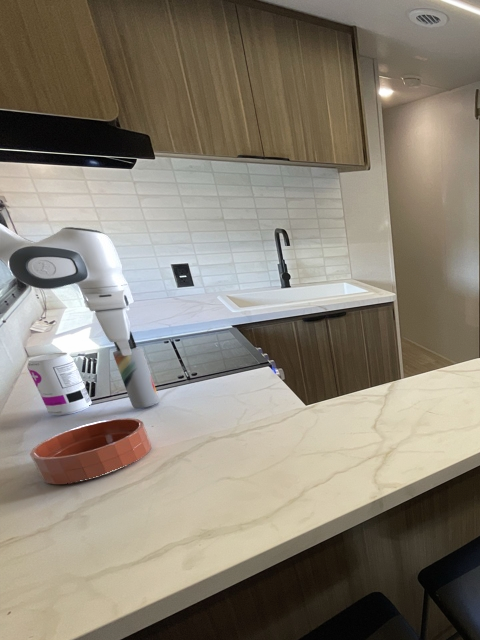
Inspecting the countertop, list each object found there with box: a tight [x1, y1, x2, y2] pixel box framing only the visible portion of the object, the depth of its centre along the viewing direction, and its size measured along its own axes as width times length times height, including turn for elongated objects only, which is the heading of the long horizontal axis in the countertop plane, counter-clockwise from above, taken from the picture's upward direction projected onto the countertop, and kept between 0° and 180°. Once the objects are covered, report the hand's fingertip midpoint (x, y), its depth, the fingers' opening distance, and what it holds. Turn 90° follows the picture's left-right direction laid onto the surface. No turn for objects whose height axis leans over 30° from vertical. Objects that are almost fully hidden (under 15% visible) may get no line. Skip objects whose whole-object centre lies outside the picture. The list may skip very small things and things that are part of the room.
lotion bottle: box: [112, 330, 160, 409], centre depth 105 cm, size 6×6×20 cm
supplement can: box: [26, 352, 93, 416], centre depth 105 cm, size 8×8×15 cm
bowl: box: [29, 417, 152, 485], centre depth 81 cm, size 16×16×6 cm
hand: (127, 352), depth 103 cm, fingers closed on lotion bottle, 5 cm apart
